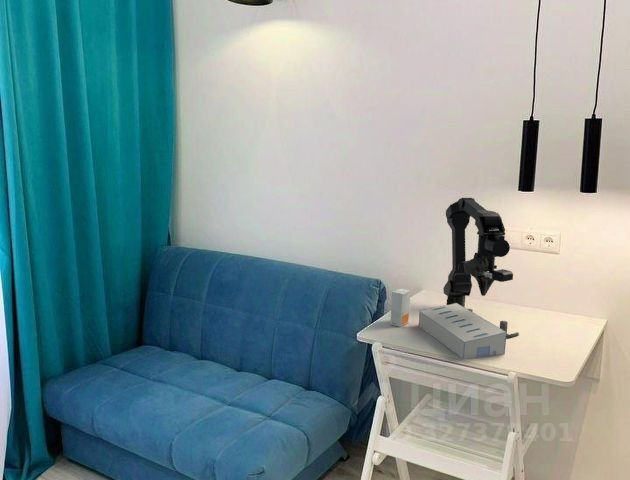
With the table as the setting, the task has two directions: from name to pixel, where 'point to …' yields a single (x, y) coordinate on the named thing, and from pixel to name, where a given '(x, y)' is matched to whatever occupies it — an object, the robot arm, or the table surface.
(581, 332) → the table surface
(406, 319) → the skincare box
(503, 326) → the cord posts
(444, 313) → the grey slotted box
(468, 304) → the table surface
